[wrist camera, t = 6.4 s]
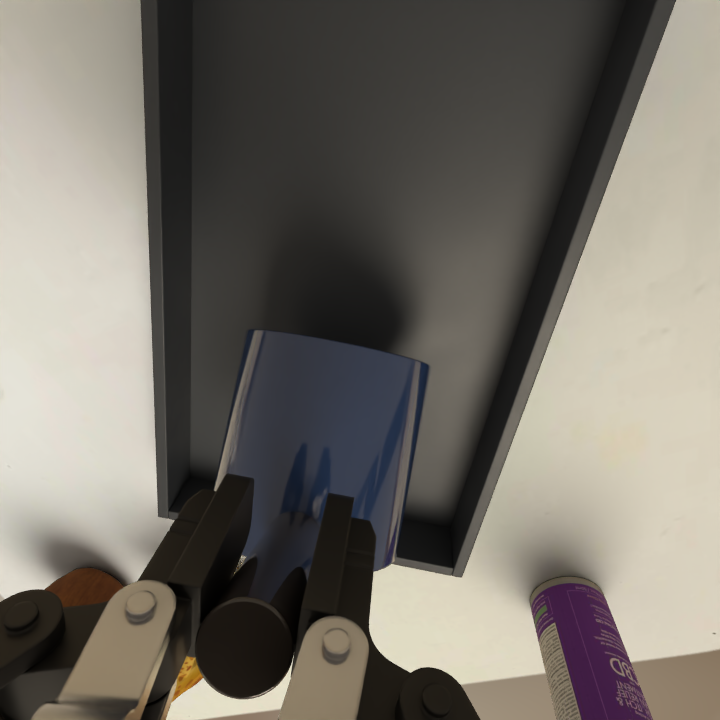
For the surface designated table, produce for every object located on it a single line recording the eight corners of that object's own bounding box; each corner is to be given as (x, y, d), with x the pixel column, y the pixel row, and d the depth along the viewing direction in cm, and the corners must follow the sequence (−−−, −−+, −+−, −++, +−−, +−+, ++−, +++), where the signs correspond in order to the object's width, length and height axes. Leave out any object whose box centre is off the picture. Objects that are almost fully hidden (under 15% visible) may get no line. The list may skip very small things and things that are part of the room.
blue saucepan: (123, 271, 10) (36, 663, 10) (503, 343, 10) (431, 745, 10) (267, 340, 25) (235, 497, 25) (420, 370, 25) (391, 528, 25)
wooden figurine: (160, 602, 37) (12, 880, 23) (109, 624, 39) (-55, 894, 25) (94, 543, 35) (-111, 811, 21) (43, 569, 36) (-174, 832, 23)
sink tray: (650, -40, 18) (705, -77, 14) (456, 527, 30) (461, 578, 27) (187, -120, 18) (134, -174, 15) (186, 473, 31) (157, 517, 27)
